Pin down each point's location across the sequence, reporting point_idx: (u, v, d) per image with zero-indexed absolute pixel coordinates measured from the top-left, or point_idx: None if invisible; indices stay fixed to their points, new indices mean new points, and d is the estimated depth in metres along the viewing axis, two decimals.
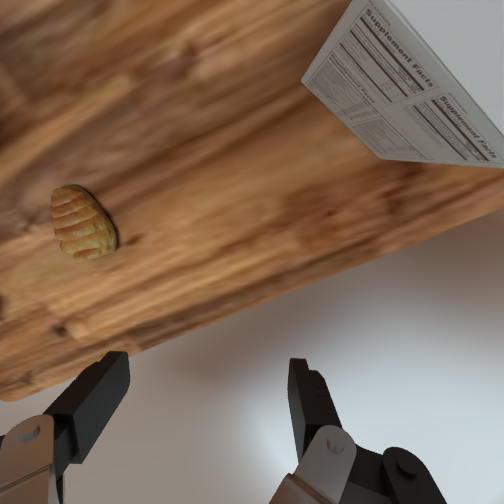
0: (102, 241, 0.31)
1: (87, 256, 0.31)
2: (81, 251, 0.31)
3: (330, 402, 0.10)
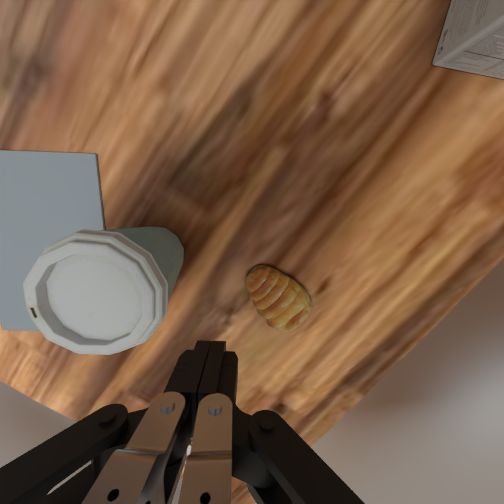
0: (304, 301, 0.32)
1: (299, 321, 0.31)
2: (292, 319, 0.32)
3: (233, 377, 0.11)
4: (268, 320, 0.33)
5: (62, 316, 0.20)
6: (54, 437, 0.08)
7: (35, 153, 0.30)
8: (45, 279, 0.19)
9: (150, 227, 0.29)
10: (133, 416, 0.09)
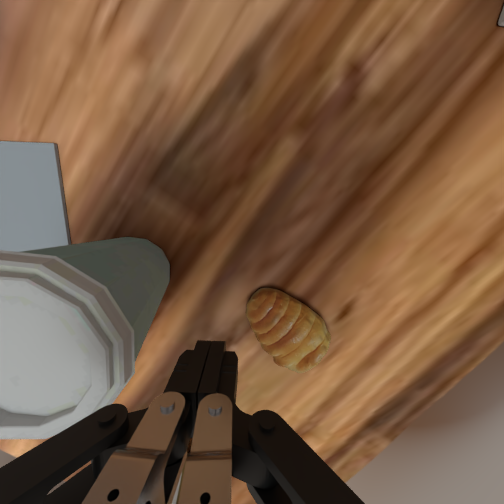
0: (321, 334, 0.25)
1: (315, 360, 0.25)
2: (306, 357, 0.25)
3: (233, 377, 0.11)
4: (275, 357, 0.26)
5: None
6: (54, 437, 0.08)
7: None
8: None
9: (124, 239, 0.23)
10: (133, 416, 0.09)
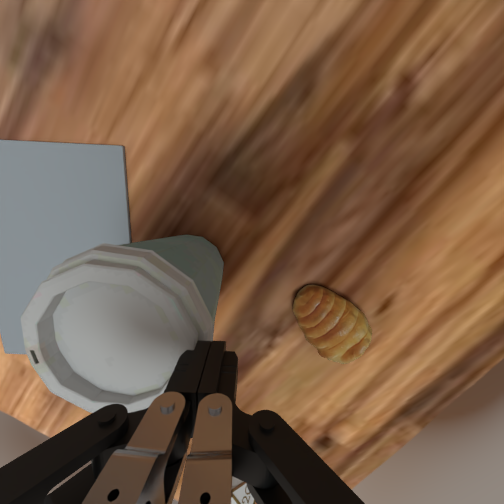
0: (364, 327, 0.27)
1: (359, 351, 0.27)
2: (351, 349, 0.27)
3: (233, 377, 0.11)
4: (320, 350, 0.28)
5: (73, 360, 0.15)
6: (54, 437, 0.08)
7: (49, 144, 0.24)
8: (51, 311, 0.14)
9: (186, 236, 0.24)
10: (133, 416, 0.09)
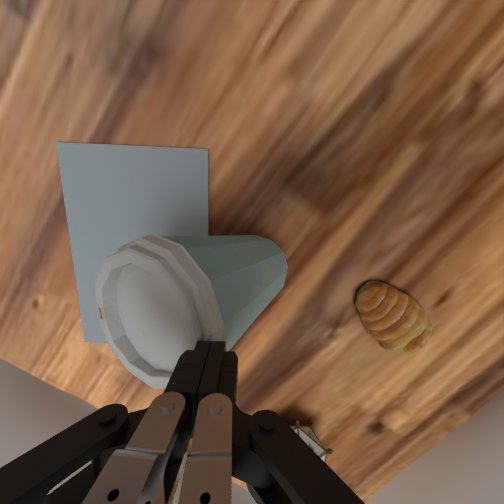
0: (425, 320, 0.29)
1: (422, 342, 0.28)
2: (413, 341, 0.29)
3: (233, 377, 0.11)
4: (383, 341, 0.30)
5: (125, 324, 0.18)
6: (54, 437, 0.08)
7: (140, 148, 0.26)
8: (113, 281, 0.17)
9: (251, 237, 0.24)
10: (133, 416, 0.09)
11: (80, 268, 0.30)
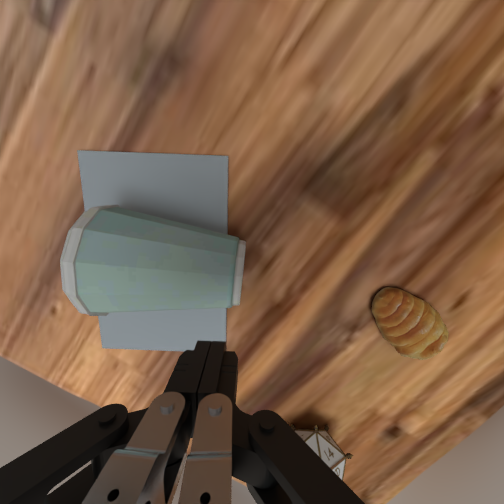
0: (441, 325, 0.29)
1: (439, 347, 0.29)
2: (430, 346, 0.29)
3: (233, 377, 0.11)
4: (400, 347, 0.30)
5: None
6: (54, 437, 0.08)
7: (161, 155, 0.27)
8: None
9: (219, 234, 0.23)
10: (133, 416, 0.09)
11: None
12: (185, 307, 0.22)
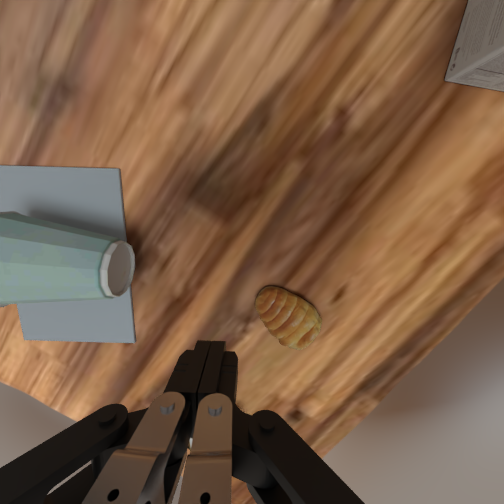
0: (313, 318, 0.33)
1: (310, 338, 0.32)
2: (303, 337, 0.33)
3: (233, 377, 0.11)
4: (280, 339, 0.34)
5: None
6: (54, 437, 0.08)
7: (60, 168, 0.31)
8: None
9: (99, 235, 0.27)
10: (133, 416, 0.09)
11: None
12: (63, 297, 0.26)
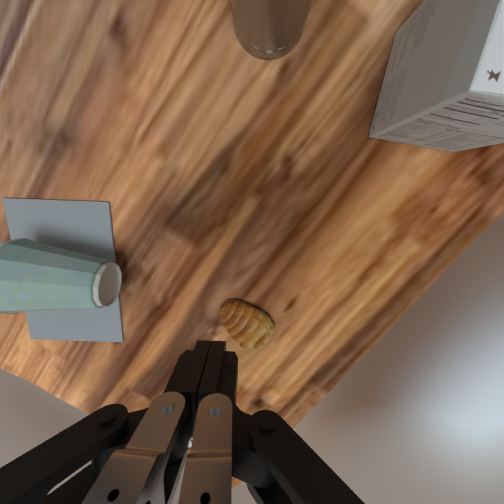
0: (266, 326, 0.40)
1: (263, 342, 0.40)
2: (258, 341, 0.40)
3: (233, 377, 0.11)
4: (240, 343, 0.41)
5: None
6: (54, 437, 0.08)
7: (61, 201, 0.38)
8: None
9: (92, 258, 0.35)
10: (133, 416, 0.09)
11: None
12: (64, 307, 0.33)
